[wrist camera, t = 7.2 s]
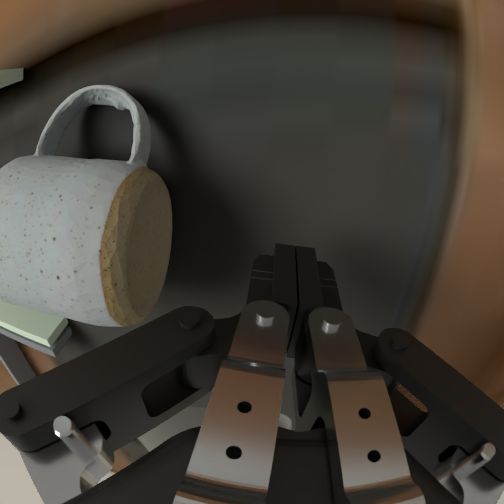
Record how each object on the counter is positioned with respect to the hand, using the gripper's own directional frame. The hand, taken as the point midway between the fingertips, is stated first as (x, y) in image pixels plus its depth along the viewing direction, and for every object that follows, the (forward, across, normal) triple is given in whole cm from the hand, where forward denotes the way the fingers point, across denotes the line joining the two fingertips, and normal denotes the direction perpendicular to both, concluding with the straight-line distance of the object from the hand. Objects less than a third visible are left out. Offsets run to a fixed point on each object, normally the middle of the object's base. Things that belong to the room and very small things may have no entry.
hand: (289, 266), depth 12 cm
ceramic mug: (+4, +10, -1) cm, 11 cm away
